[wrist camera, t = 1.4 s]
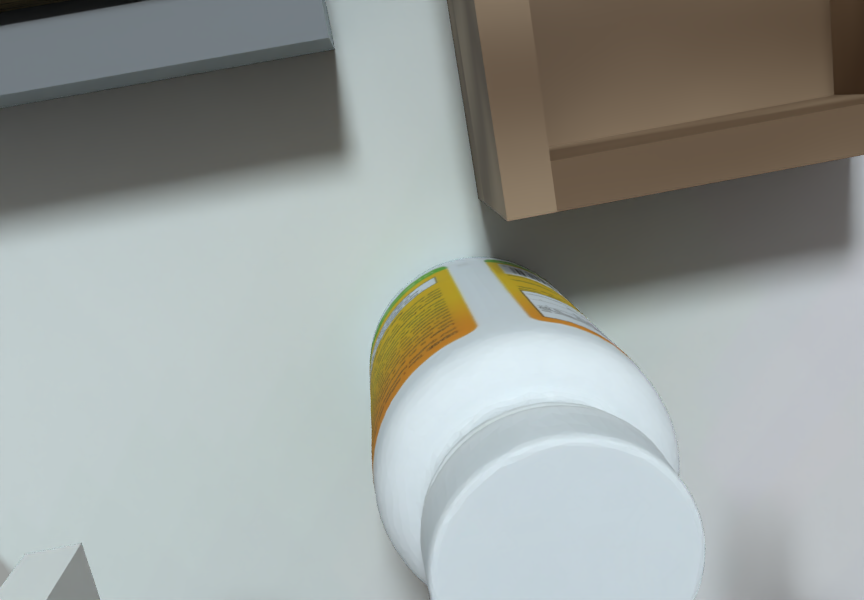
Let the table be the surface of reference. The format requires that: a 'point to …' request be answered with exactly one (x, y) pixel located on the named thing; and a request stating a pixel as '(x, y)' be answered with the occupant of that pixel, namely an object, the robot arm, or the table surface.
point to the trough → (652, 94)
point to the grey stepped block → (146, 42)
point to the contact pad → (23, 4)
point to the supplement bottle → (523, 447)
